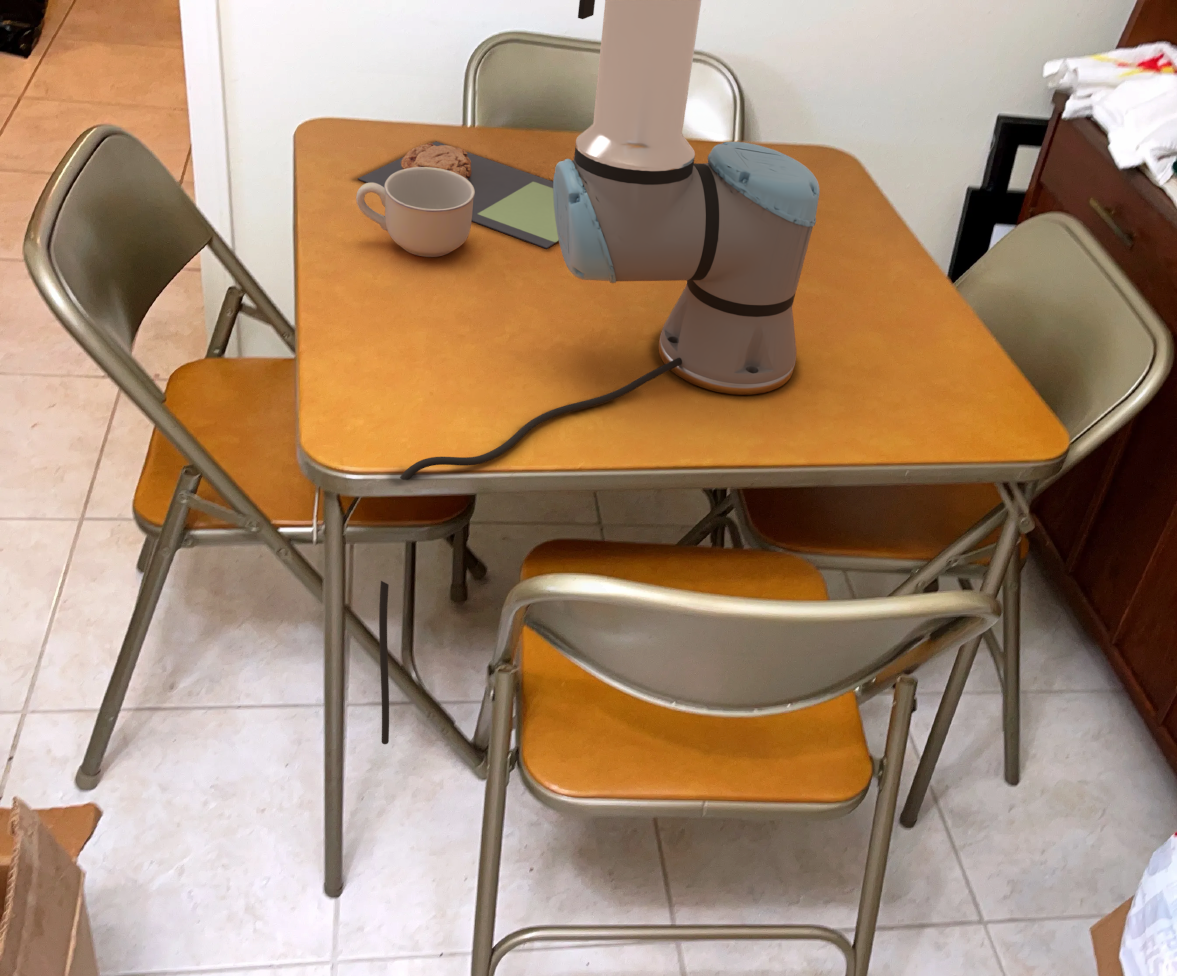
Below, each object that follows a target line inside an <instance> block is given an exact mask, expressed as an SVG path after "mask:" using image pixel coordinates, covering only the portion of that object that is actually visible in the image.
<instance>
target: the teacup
mask: <svg viewBox="0 0 1177 976" xmlns="http://www.w3.org/2000/svg"><path fill="white" fill-rule="evenodd" d="M370 193H374V194H376V195H377V196H378V197H379V199H380V201H381V205H382V206H383V207H384V215H383V214H381V213H379V212H377V211H376V210H374V209H373V208H371V207H370V206H369V205H368V204H367V202H366V201H365V196H366V195H367V194H370ZM474 195H475V190H474V187H473V185H472V184H471V183H470V182H469V181H468V180H467V179H466V178H464V177H463V176H461V175H458V174H456V173H454V172H451V171H448V170H444V169H440V168H432V167H414V168H407V169H403V170H400V171H397V172H395V173H393V174H392V175H391V176H389V178H388V179H387V180H386V182H385V186H384V187H382V186H381V185H379V184H377V183H363V184H362V185H361V186H360V187H359V188H358V189H357V192H356V197H355V198H356V199H355V201H356V205H357V207H358V209H359V211H360V212H361V213H362V214H363V215H364V216H365V217H367V218H368V219H370V220H371V221H373V222H375V223H377V224H378V225H379V226H380V228H381V229H382V230H383V231H387V232H388V235H389V237H391V240H392V241H394V243H395V244H396V245H398V246H400V247H401V249H403V250H404V251H406V252H408V253H409V254H412V255H415V256H418V257H423V258H438V257H442V256H445V255H448V254H450V253H451V252H453V251H455V250H456V249H459V247H461V246H462V245H463V244H464V243H465V242H466V241H467V239H468V237H469V235H470V232H471V228H472V227H471V226H472V210H473V198H474Z"/></svg>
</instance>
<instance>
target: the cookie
mask: <svg viewBox="0 0 1177 976" xmlns="http://www.w3.org/2000/svg"><path fill="white" fill-rule="evenodd" d="M465 151H466V150H464V149H463V148H460V147H456V146H452V145H448V144H445V145H440V146H435V145H433V144H432V143H431V142H429V143H426V144H420V145H419V146H417V147H413V148H411V149H409V151H408V152H407V153H406V154H405V155H404V156H405V157H404V156H403V157H404V158H403V159H402V161H401V166H402V168H403V169H407V168H414V167H432V168H440V169H444V170H448V171H451V172H454V173H456V174H458V175H461V176H463V177H464V178H466V179H467V178H470V176H471V160H470V159H469V158H468V157H467V152H468V151H466V152H465Z"/></svg>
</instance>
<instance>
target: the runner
mask: <svg viewBox="0 0 1177 976" xmlns="http://www.w3.org/2000/svg"><path fill="white" fill-rule="evenodd" d="M431 144H433V145H435V146H440V145H446V144H445V143H443V142H440V141H436V140H435V141H433V142H432V143H431ZM464 151H465V152H467V157H468V158H469V159H470V160H471V176H470V178H467V180H468V181H469V182H470V183H471V184H472V185H473V187H474V190H475V195H474V198H473V210H472V221H471V223H474V224H477V225H480V226H483V227H485V228H488V229H490V230H493V231H496V232H498V233H502V234H503V235H507V236H510V237H512V238H514V239H518V240H521V241H523V242H526V243H529V244H532V245H535V246H537V247H539V248H541V249H545V250H548V249H549V248H551V247H552V246H554V245H556V244H557V243H559V239H558V233H557V227H556V220H555V211H554V197H553V180H550V179H547V178H544V177H540V176H538V175H536V174H533V173H530V172H527V171H524V170H521V169H518V168H515V167H512V166H509V165H507V164H504V163H500V162H498V161H494V160H492V159H489V158H486V157H483V156H480V155H478V154H474V153H471V152H469V151H466V150H464ZM404 157H405V155H404V156H402V157H400V158H398V159H396V160H394V161H391V162H390V163H387V164H385V165H383V166H380V167H378V168H376V169H374V170H372V171H370V172H368V173H366V174H364V175H362V176H360V177H357V181H360V182H363V183H364V184H366V183H377V184H379V185H381V186H382V187H384V186H385V182H386V180H387V179H388V178H389V176H391V175H392V174H393V173H395V172H397V171H400V170H403V168H402V166H401V161H402V159H403V158H404Z"/></svg>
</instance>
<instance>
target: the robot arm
mask: <svg viewBox="0 0 1177 976" xmlns="http://www.w3.org/2000/svg"><path fill="white" fill-rule="evenodd" d="M578 1H579V2H578V10H577V11H578V12H577V19H580V20H585V19H587V18H590V17H593V16H594V13H595V4H596V0H578ZM701 5H702V0H604V7H603V8H604V11H603V20H602V29H601V40H600V52H599V58H598V59H599V60H598V68H597V69H598V70H597V79H596V80H597V81H596V91H595V100H594V101H595V102H594V111H593V122H592V123H591V125H590V126H588V127H587V128H586V129H585V130H584V131H582V132H581V133H579V135H578V136H577V137H576V138H575V146H574V156H573V160H572V159H570V158H565V159H564V160H560V161H558V162H557V163H556V165H555V167H554V170H555V171H554V174H553V179H552V181H553V197H554V211H555V220H556V227H557V233H558V239H559V241H558V243H559V248H560V252H561V255H562V258H563V261H564V263H565V266H566V268H567V269H568V271H569V272H570V274H572V275H573V276H574V277H575V278H577V279H579V280H582V281H596V282H597V281H598V282H599V281H601V282H609V283H611V284H616V283H617V282H618V283H619V282H669V281H670V282H671V281H673V282H674V281H675V282H677V281H686V285H685V287H684V289H683V291H682V292H681V294H680V296H679V298H678V300H677V301H676V303H675V305H674V306H673V308H672V310H671V311H670V312H669V315H668V317H667V318H666V320H665V322H664V324H663V326H662V329H661V331H660V335H659V341H658V354H659V357H660V359H661V361H662V362H663V365H661V366H659V367H657V368H655V369H653V370H651V371H649V372H647V373H645V374H643V375H642V376H639V377H638V378H636V379H635V380H633V381H631V382H629V383H628V384H626V385H624V386H622V387H620V388H618V389H615V390H613V391H611V392H608V393H606V394H603V395H600V396H597V397H593V398H589V399H586V400H582V401H578V402H574V403H570V404H569V403H568V404H566V405H563V406H559V407H556V408H554V409H551V410H548V411H546V412H544V413H542V414H540V415H537V416H536V417H534V418H533V419H531V420H530V421H528V422H527V423H525V424H524V425H523V426H522V427H521V428H520V429H518V430H517V431H516V432H515V433H514V434H513V435H512V436H511V437H509V438H508V439H507V440H506V441H505V442H503V443H502V444H501V445H499V446H498V447H496V448H494V449H493V450H490V451H488V452H485V453H483V454H480V455H477V456H468V457H467V456H466V457H462V456H461V457H459V456H431V457H427V458H423V459H421V460H419V461H416V462H415V463H413V464H412V465H410V466H409V467H407V469H406V470H405V471H403V473H402V474H401V475H400V477H399V478H400V479H401V480H403V481H407V480H410V479H411V478H412V477H413V476H414V475H415V474H416V473H418V472H419V471H421V470H423V469H425V468H428V467H432V466H464V467H465V466H476V465H482V464H485V463H488V462H490V461H493V460H495V459H497V458H499V457H501V456H502V455H504V454H505V453H507V452H508V451H509V450H511V449H512V448H513V447H515V445H517V444H518V443H519V442H520V441H521V440H522V439H523V438H524V437H525V436H526V435H527V434H529V433H530V432H531V431H532V430H533V429H535V428H537V427H538V426H539V425H541V424H543V423H545V422H547V421H549V420H551V419H555V418H556V417H559V416H562V415H565V414H568V413H572V412H576V411H580V410H584V409H588V408H592V407H595V406H599V405H602V404H605V403H608V402H611V401H614V400H617V399H618V398H620V397H622V396H625V395H626V394H629V393H630V392H633V391H634V390H636V389H637V388H639V387H641V386H643V385H645V384H646V383H648V382H650V381H651V380H654V379H656V378H657V377H660V376H662V375H663V374H665V373H667V372H669V371H671V372H672V373H674V374H675V375H676V376H677V377H679V378H680V379H682V380H684V381H686V382H688V383H690V384H692V385H694V386H696V387H697V386H698V387H700V388H702V389H706V390H709V391H713V392H717V393H722V394H729V395H742V396H743V395H757V394H765V393H767V392H768V393H769V392H771V391H774V390H777V389H779V388H780V387H782V386H784V385H785V384H787V382H788V381H789V380H790V379H791V377H792V375H793V373H794V368H795V366H796V362H797V361H796V360H797V342H796V332H795V323H794V321H795V320H794V312H793V307H794V306H793V305H794V301H795V297H796V293H797V290H798V286H799V282H800V278H801V275H802V270H803V268H804V267H803V266H804V263H805V259H806V256H807V251H808V247H809V244H810V240H811V235H812V233H813V229H814V227H815V225H816V223H817V217H816V216H817V212H818V206H819V205H818V204H819V200H820V193H821V191H820V184H819V181H818V179H817V178H816V176H815V174H814V173H813V172H812V171H811V170H810V169H809V168H808V167H807V166H806V165H804V164H803V163H801V162H800V161H798V160H797V159H795V158H793V157H791V156H789V155H788V154H785V153H783V152H780V151H778V150H777V149H773V148H770V147H766V146H763V145H759V144H756V143H751V142H744V141H725V142H722V143H718V144H716V145H714V146H713V147H712V149H711V151H710V152H709V153H708V155H707V162H706V163H698V162H697V163H695V157H696V152H695V150H694V148H693V147H692V145H691V144H690V143H689V141H688V140H687V139H686V137H685V136H684V134H683V131H684V124H685V116H686V110H687V103H688V96H689V95H688V94H689V90H690V89H689V88H690V82H691V75H692V69H693V68H692V67H693V61H694V55H695V47H696V40H697V33H698V28H699V27H698V25H699V20H700V11H701ZM379 585H380V586H379V603H378V605H379V608H378V609H379V610H378V613H379V614H378V615H379V616H378V618H379V619H378V632H379V633H378V634H379V635H378V636H379V666H380V693H381V694H380V697H381V744H383V745H388V744H389V741H390V681H389V680H390V679H389V655H388V653H389V652H388V651H389V650H388V603H389V588H390V587H389V584H388V583H387V582H385V581H383V580H380V584H379Z"/></svg>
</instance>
